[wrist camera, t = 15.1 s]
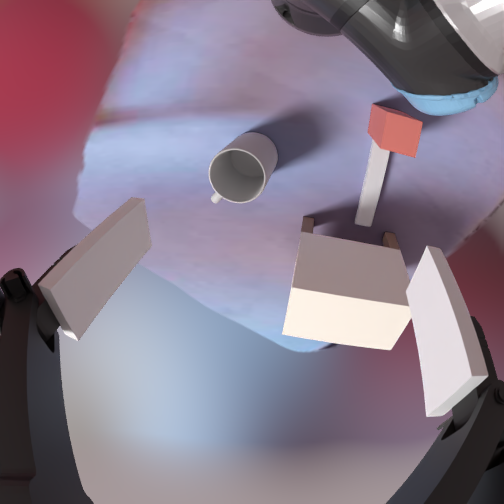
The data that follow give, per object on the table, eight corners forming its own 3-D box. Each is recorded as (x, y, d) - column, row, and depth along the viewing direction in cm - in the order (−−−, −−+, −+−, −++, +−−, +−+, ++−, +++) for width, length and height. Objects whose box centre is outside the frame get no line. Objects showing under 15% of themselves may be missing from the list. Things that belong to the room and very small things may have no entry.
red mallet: (372, 103, 37) (387, 111, 29) (401, 111, 37) (422, 122, 28) (349, 219, 50) (353, 253, 41) (374, 224, 49) (383, 259, 41)
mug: (250, 121, 44) (231, 134, 35) (288, 155, 46) (279, 176, 37) (209, 169, 51) (184, 193, 42) (244, 199, 53) (227, 228, 44)
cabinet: (303, 216, 52) (291, 287, 36) (400, 234, 49) (424, 308, 34) (296, 259, 58) (282, 334, 42) (385, 274, 55) (397, 350, 39)
